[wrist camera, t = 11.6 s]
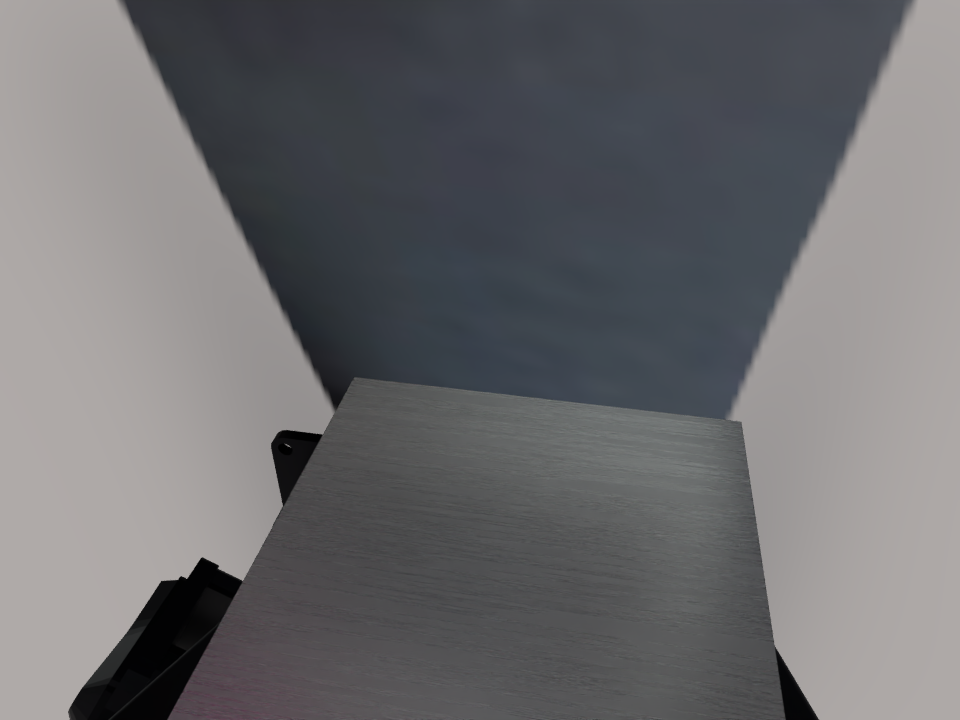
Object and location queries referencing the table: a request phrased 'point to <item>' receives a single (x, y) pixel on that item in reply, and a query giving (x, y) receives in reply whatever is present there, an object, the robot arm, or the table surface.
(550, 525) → the block
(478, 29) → the table surface
